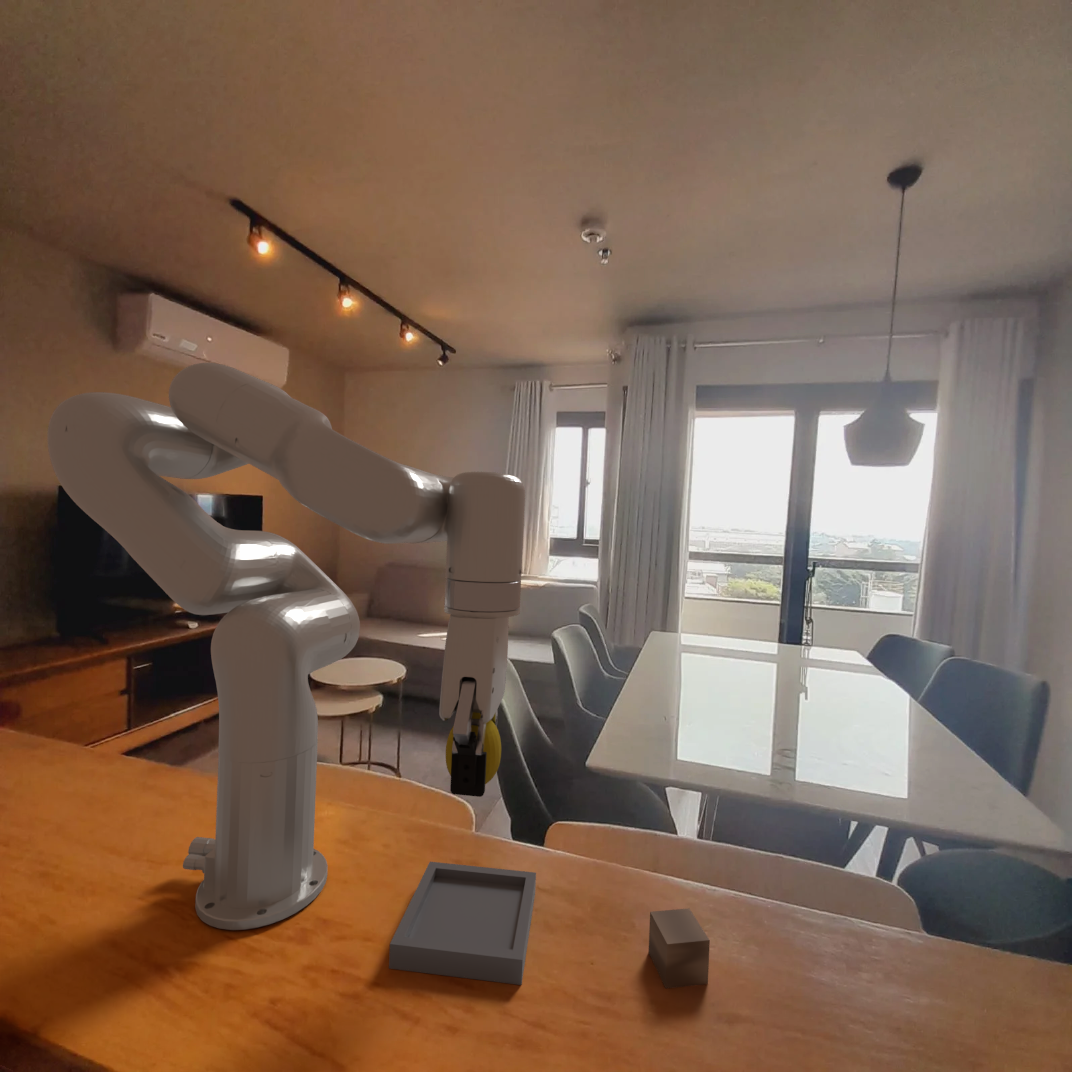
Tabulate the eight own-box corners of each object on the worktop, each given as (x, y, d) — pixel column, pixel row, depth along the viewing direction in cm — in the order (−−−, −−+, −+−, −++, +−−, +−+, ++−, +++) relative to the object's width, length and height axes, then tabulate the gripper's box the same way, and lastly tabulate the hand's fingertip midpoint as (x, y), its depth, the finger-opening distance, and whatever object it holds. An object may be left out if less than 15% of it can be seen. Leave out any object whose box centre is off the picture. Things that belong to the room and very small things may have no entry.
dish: (388, 968, 47) (389, 943, 47) (429, 881, 59) (429, 861, 59) (521, 984, 46) (522, 960, 46) (535, 892, 58) (536, 872, 58)
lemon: (500, 779, 55) (503, 703, 55) (498, 806, 50) (502, 722, 50) (447, 777, 55) (450, 701, 55) (439, 804, 50) (443, 720, 50)
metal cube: (665, 989, 46) (667, 944, 46) (648, 953, 50) (650, 911, 50) (707, 984, 47) (709, 940, 47) (687, 949, 51) (689, 908, 51)
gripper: (465, 587, 61) (458, 741, 62) (418, 607, 44) (409, 821, 44) (529, 590, 61) (522, 747, 61) (506, 612, 44) (497, 830, 44)
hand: (474, 776), depth 53 cm, fingers closed on lemon, 5 cm apart
